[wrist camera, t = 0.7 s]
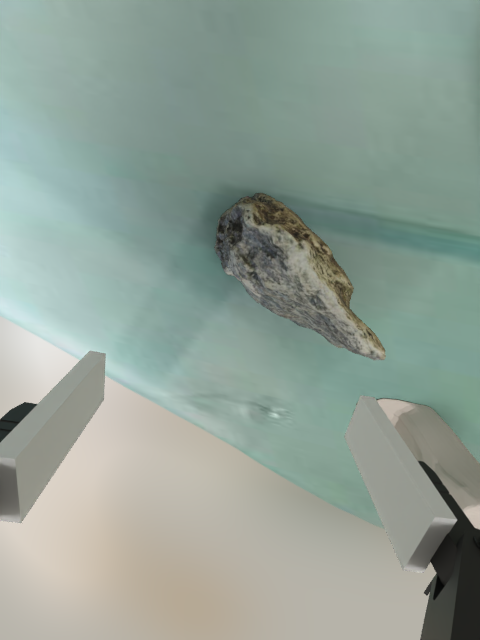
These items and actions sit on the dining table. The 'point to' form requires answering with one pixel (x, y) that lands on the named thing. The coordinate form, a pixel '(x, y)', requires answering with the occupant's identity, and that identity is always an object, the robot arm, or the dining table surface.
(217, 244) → the stone block
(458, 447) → the candle
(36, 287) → the dining table surface
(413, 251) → the dining table surface
